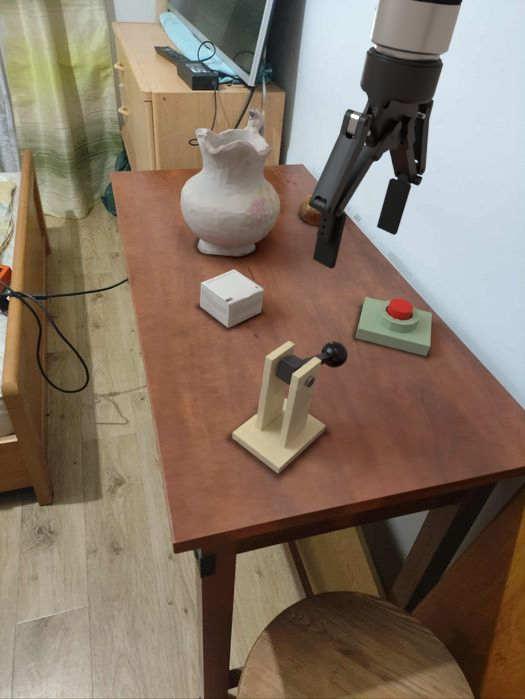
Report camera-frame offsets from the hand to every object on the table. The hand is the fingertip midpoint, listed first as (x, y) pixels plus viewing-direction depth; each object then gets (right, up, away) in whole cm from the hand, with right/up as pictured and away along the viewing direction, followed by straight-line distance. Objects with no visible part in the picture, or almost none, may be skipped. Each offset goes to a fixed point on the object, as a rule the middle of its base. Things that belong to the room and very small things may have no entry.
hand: (357, 245), depth 63 cm
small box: (-17, -6, +26) cm, 32 cm away
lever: (-6, -16, +3) cm, 17 cm away
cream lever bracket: (-10, -24, +5) cm, 27 cm away
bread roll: (+2, +18, +57) cm, 60 cm away
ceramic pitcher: (-19, +10, +44) cm, 49 cm away
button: (+12, -7, +24) cm, 27 cm away
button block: (+11, -10, +26) cm, 30 cm away
